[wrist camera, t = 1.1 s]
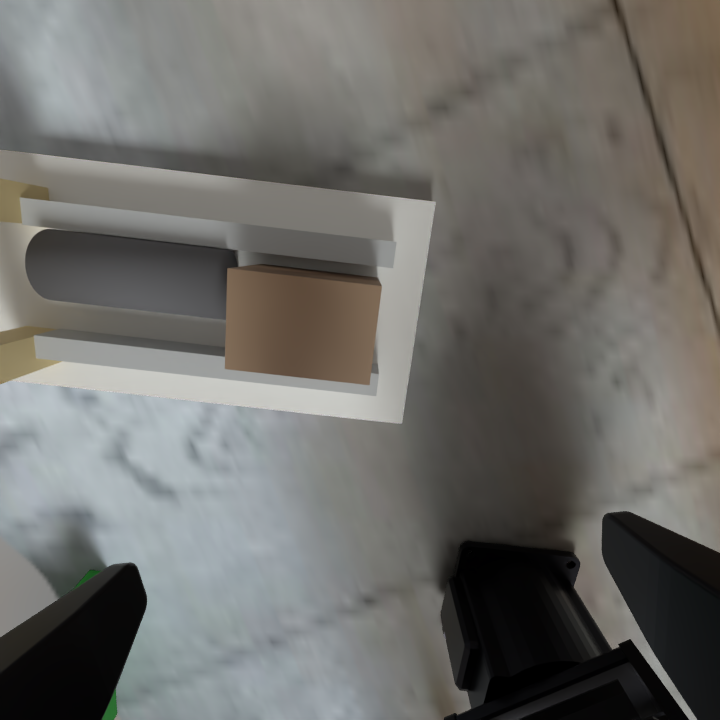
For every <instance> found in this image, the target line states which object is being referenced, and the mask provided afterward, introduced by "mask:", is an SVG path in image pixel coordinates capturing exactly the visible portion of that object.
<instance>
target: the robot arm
mask: <svg viewBox="0 0 720 720" xmlns="http://www.w3.org/2000/svg"><path fill="white" fill-rule="evenodd" d="M470 550H471V551H472V552H470V553H466V552H467V551H470ZM602 555H603V559H604V562H605V564H606V566H607V568H608V570H609V572H610V574H611V575H612V577H613V579H614V581H615V583H616V585H617V587H618V588H619V590H620V592H621V594H622V596H623V598H624V600H625V601H626V603H627V605H628V607H629V609H630V611H631V613H632V614H633V616H634V618H635V620H636V622H637V624H638V625H639V627H640V629H641V631H642V633H643V635H644V637H645V638H646V640H647V642H648V644H649V645H650V647H651V649H652V651H653V652H654V654H655V656H656V657H657V659H658V660H659V662H660V663H661V665H662V667H663V668H664V670H665V671H666V673H667V674H668V676H669V677H670V679H671V680H672V682H673V683H674V685H675V686H676V688H677V689H678V691H679V692H680V694H681V695H682V697H683V699H684V700H685V702H686V703H687V705H688V706H689V708H690V709H691V711H692V712H693V714H694V715H695V717H696V718H697V720H720V553H719V552H717V551H715V550H712V549H710V548H708V547H706V546H704V545H701V544H699V543H697V542H695V541H693V540H690V539H688V538H686V537H684V536H682V535H679V534H677V533H675V532H673V531H671V530H668V529H666V528H664V527H662V526H660V525H657V524H655V523H653V522H651V521H649V520H646V519H644V518H642V517H640V516H638V515H635V514H633V513H631V512H627V511H622V512H613V513H607V514H605V515H604V517H603V520H602ZM569 561H571V562H570V563H568V562H569ZM579 568H580V561H579V559H578V558H577V557H576V555H575V554H574V553H572V552H566V551H556V550H547V549H537V548H528V547H518V546H509V545H500V544H490V543H481V542H471V541H468V542H464V543H462V544H461V545H460V547H459V551H458V556H457V561H456V565H455V570H454V575H453V576H451V577H450V578H449V579H448V581H447V586H446V591H445V596H444V600H443V605H442V610H441V618H442V623H443V627H442V630H443V635H444V637H445V639H446V643H447V647H448V652H449V657H450V662H451V667H452V671H453V676H454V681H455V685H456V686H457V687H458V689H459V690H461V691H467V692H468V696H469V701H470V705H471V709H470V710H468V711H465V712H463V713H461V714H458V715H457V714H456V713H454V714H451V715H449V716H447V717H444V720H689V719H688V718H687V716H686V715H685V714H684V712H683V711H682V709H681V708H680V707H679V705H678V704H677V702H676V701H675V700H674V698H673V697H672V696H671V694H670V693H669V691H668V690H667V689H666V687H665V686H664V685H663V683H662V682H661V680H660V679H659V678H658V676H657V675H656V674H655V672H654V671H653V669H652V668H651V667H650V665H649V664H648V663H647V661H646V660H645V658H644V657H643V656H642V654H641V653H640V652H639V650H638V649H637V647H636V646H635V645H634V643H633V642H632V641H631V639H629V640H627V641H625V642H622V643H620V644H618V645H619V647H618V648H615V649H613V650H612V648H611V647H610V645H609V644H608V642H607V640H606V639H605V637H604V636H603V634H602V632H601V631H600V629H599V627H598V626H597V624H596V623H595V621H594V619H593V618H592V616H591V615H590V613H589V611H588V610H587V608H586V606H585V605H584V603H583V602H582V600H581V598H580V597H579V595H578V594H577V592H576V590H575V589H574V584H575V581H576V577H577V574H578V571H579ZM146 605H147V595H146V592H145V589H144V586H143V583H142V580H141V577H140V574H139V570H138V568H137V566H136V565H135V564H134V563H121V564H113V565H111V566H109V567H107V568H106V569H104V570H103V571H101V572H100V573H98V574H97V575H95V576H93V577H92V578H90V579H89V580H87V581H86V582H84V583H83V584H81V585H80V586H78V587H77V588H75V589H74V590H72V591H71V592H69V593H67V594H66V595H64V596H63V597H61V598H60V599H58V600H57V601H55V602H54V603H52V604H51V605H49V606H48V607H46V608H45V609H43V610H42V611H40V612H38V613H37V614H35V615H34V616H32V617H31V618H29V619H28V620H26V621H25V622H23V623H22V624H20V625H19V626H17V627H16V628H14V629H12V630H11V631H9V632H8V633H6V634H5V635H3V636H2V637H0V720H102V719H103V716H104V714H105V712H106V710H107V708H108V705H109V703H110V701H111V699H112V696H113V694H114V691H115V689H116V686H117V684H118V681H119V679H120V676H121V673H122V671H123V668H124V665H125V663H126V660H127V658H128V655H129V652H130V650H131V647H132V644H133V642H134V639H135V636H136V634H137V631H138V629H139V626H140V623H141V621H142V618H143V615H144V613H145V610H146Z"/></svg>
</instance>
